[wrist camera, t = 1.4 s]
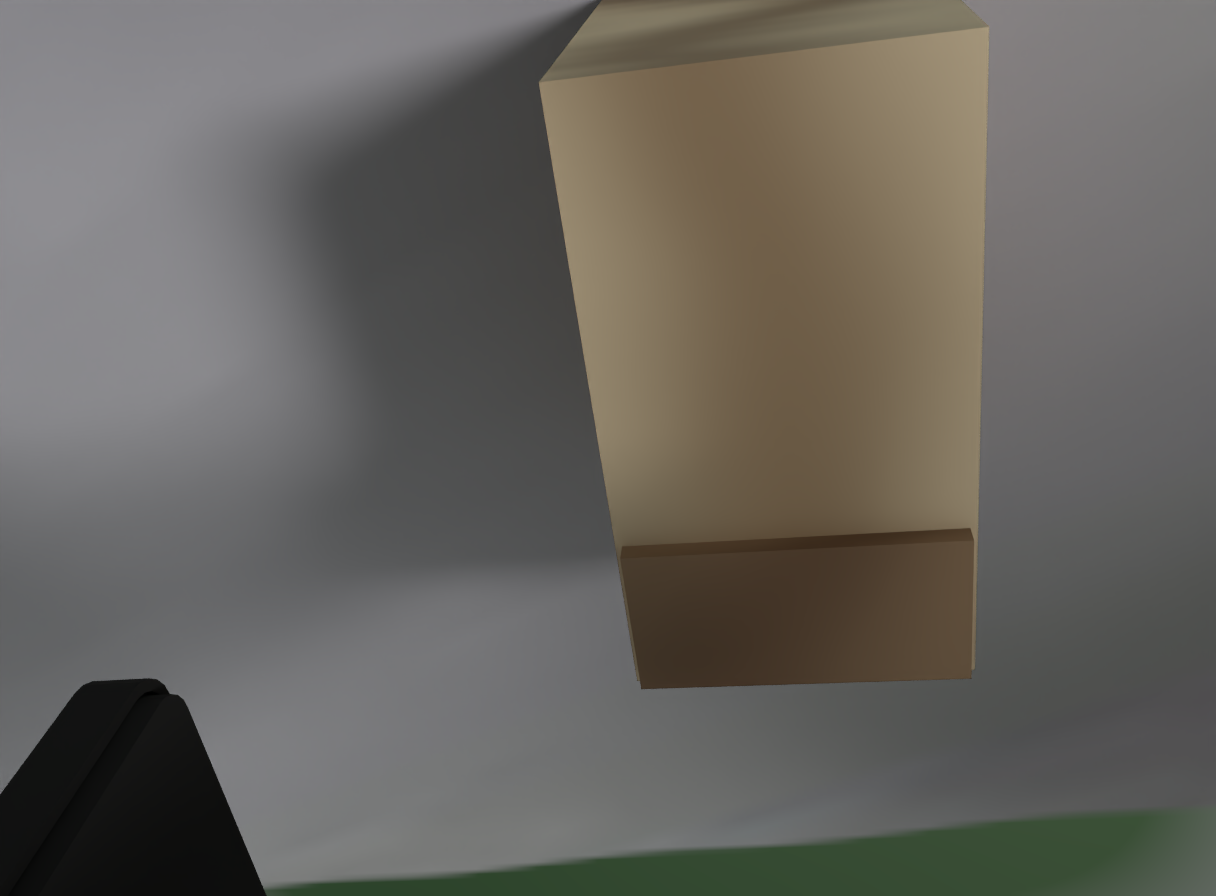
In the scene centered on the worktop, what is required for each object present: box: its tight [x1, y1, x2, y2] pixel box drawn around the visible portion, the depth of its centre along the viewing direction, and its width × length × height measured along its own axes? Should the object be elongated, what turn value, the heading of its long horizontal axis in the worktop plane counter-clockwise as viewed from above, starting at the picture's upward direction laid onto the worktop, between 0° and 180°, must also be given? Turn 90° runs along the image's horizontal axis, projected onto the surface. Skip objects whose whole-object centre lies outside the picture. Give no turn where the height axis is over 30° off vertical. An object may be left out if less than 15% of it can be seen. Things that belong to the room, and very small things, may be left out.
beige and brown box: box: [539, 0, 989, 689], centre depth 18 cm, size 5×9×7 cm, turn 8°
